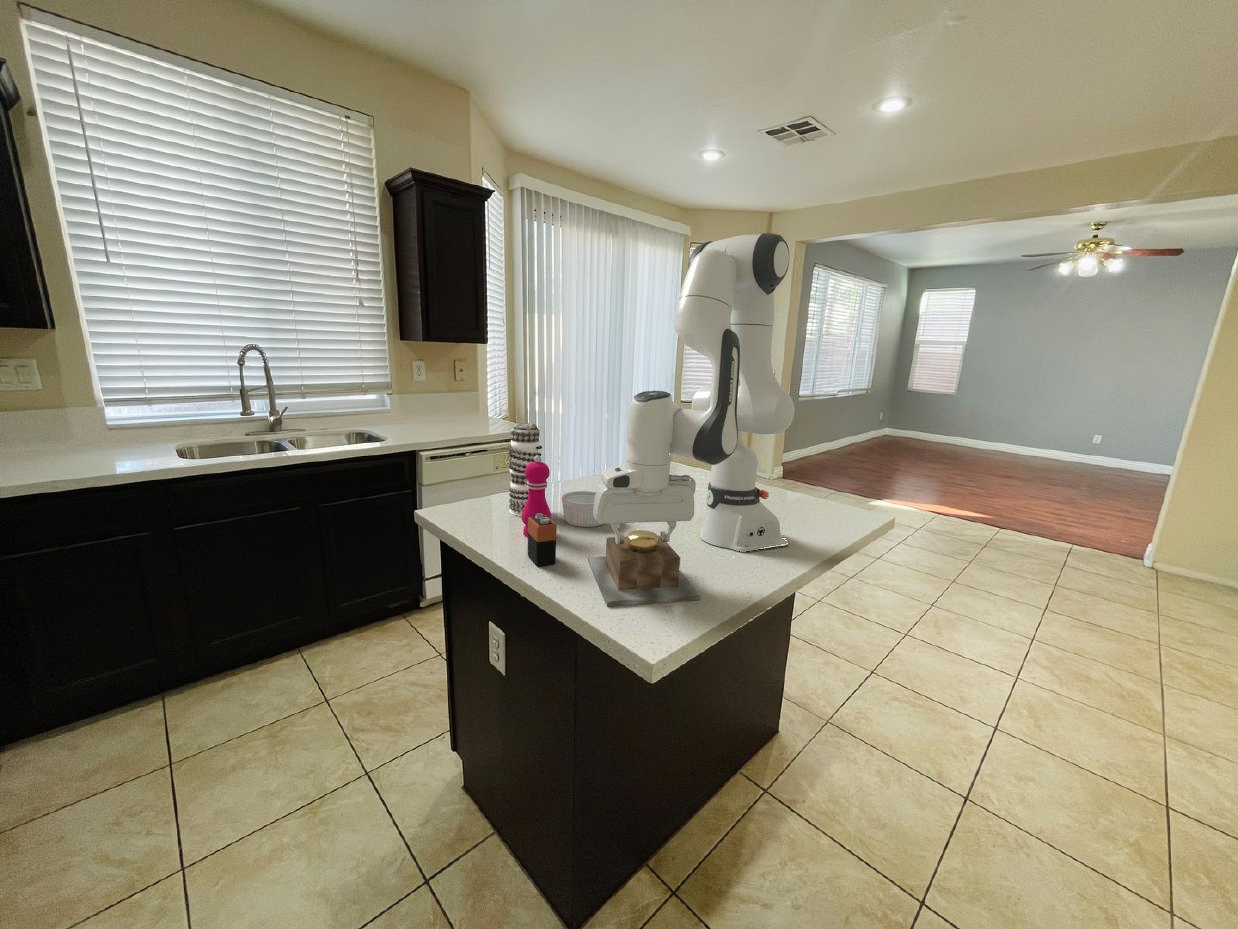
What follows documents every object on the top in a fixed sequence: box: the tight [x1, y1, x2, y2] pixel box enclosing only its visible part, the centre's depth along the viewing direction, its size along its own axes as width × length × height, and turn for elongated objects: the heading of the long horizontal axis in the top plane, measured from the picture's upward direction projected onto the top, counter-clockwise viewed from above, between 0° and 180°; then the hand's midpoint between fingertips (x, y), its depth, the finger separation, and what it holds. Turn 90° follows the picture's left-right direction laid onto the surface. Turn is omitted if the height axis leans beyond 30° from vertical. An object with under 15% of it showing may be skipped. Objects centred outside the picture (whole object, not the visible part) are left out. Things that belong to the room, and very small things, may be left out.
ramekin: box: [561, 490, 603, 528], centre depth 133 cm, size 13×13×7 cm
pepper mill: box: [521, 455, 552, 538], centre depth 120 cm, size 7×7×20 cm
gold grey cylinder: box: [627, 529, 659, 553], centre depth 98 cm, size 6×6×8 cm
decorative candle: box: [507, 422, 543, 517], centre depth 136 cm, size 9×9×25 cm
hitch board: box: [587, 535, 701, 607], centre depth 99 cm, size 18×20×7 cm
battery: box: [527, 514, 558, 567], centre depth 105 cm, size 4×7×10 cm, turn 28°
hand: (642, 542), depth 98 cm, fingers open, 8 cm apart
